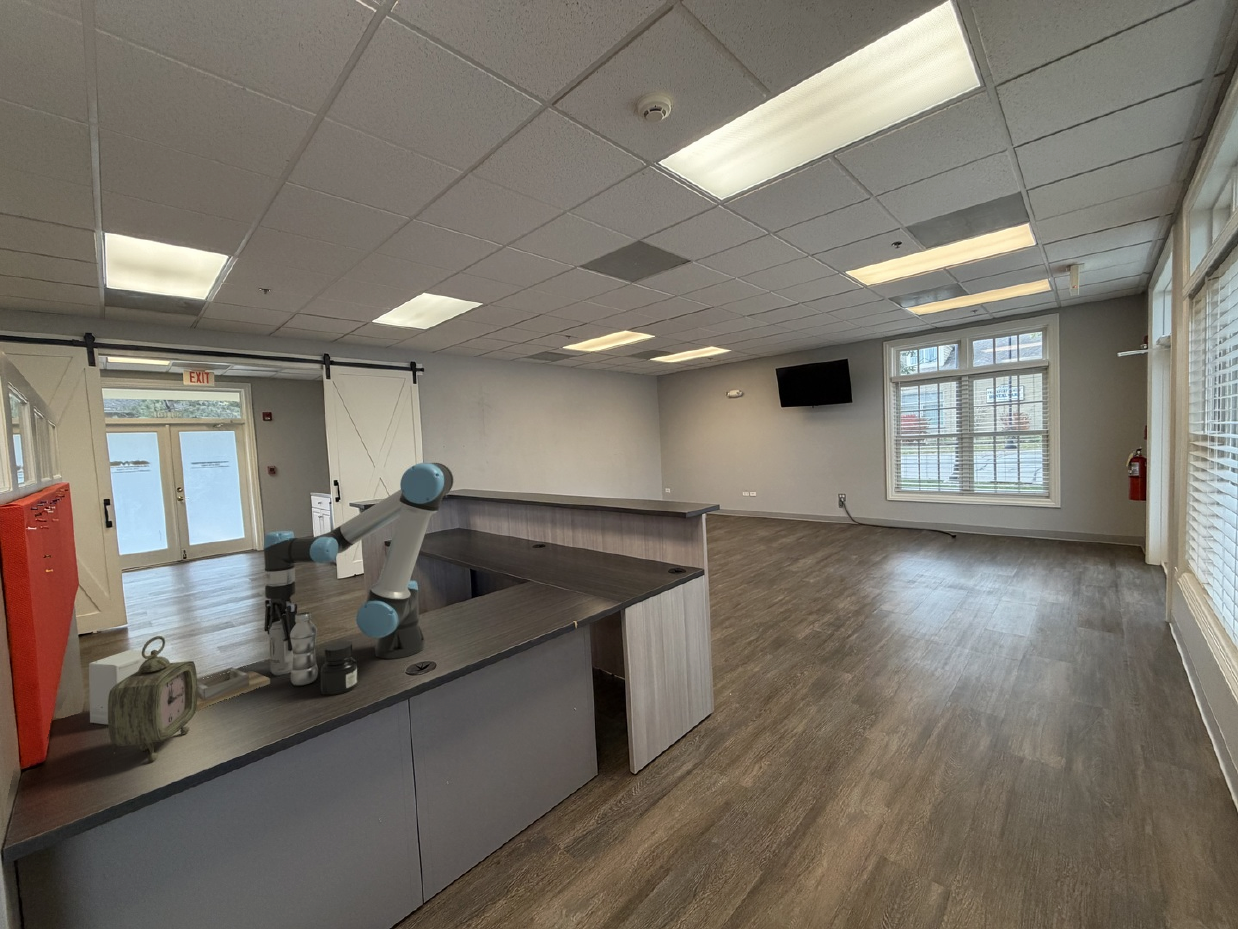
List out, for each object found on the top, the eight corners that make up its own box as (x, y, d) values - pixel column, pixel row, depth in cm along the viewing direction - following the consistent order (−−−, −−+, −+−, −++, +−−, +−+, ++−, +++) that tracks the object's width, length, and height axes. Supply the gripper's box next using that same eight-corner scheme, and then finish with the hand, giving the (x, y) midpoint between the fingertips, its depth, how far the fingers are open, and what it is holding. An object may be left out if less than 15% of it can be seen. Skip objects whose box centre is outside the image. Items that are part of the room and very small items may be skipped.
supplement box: (117, 727, 121) (114, 666, 120) (88, 723, 122) (86, 663, 122) (158, 708, 130) (156, 651, 129) (131, 705, 131) (129, 649, 131)
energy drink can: (267, 673, 150) (265, 623, 149) (289, 665, 155) (287, 618, 154) (275, 678, 146) (274, 627, 146) (298, 670, 151) (296, 621, 151)
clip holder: (270, 683, 143) (269, 668, 143) (182, 716, 125) (181, 698, 125) (251, 675, 148) (250, 660, 148) (164, 705, 131) (163, 688, 131)
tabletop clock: (156, 765, 105) (152, 648, 105) (105, 772, 103) (100, 652, 103) (198, 728, 119) (195, 625, 119) (154, 733, 117) (150, 628, 117)
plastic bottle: (287, 683, 142) (285, 614, 142) (314, 675, 147) (312, 608, 147) (294, 691, 138) (292, 619, 138) (321, 682, 143) (319, 613, 143)
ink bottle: (357, 691, 137) (356, 648, 137) (320, 699, 133) (319, 655, 133) (356, 677, 146) (355, 637, 145) (321, 685, 141) (320, 643, 141)
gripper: (249, 581, 152) (251, 655, 152) (285, 590, 142) (287, 669, 142) (275, 576, 158) (278, 647, 159) (312, 584, 148) (314, 660, 149)
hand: (282, 657), depth 150 cm, fingers open, 8 cm apart
